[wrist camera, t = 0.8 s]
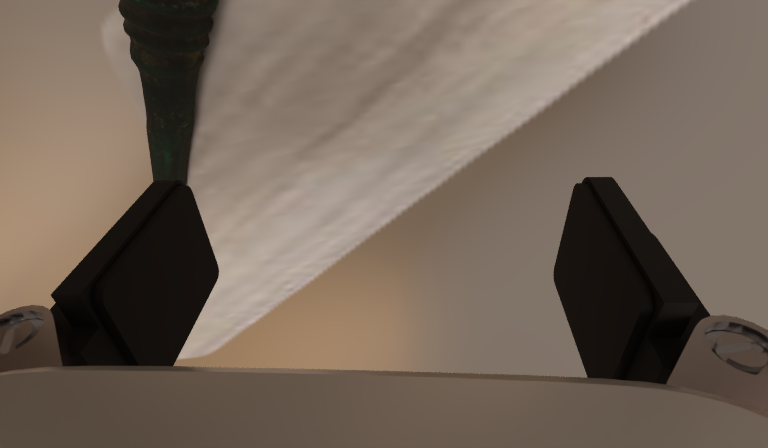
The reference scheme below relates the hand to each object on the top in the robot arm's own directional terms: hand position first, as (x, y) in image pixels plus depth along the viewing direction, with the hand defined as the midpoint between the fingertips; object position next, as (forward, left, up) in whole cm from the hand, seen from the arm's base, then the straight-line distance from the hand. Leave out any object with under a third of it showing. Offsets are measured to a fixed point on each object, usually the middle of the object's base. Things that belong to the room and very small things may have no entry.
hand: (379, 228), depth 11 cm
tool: (+9, -20, -28) cm, 36 cm away
